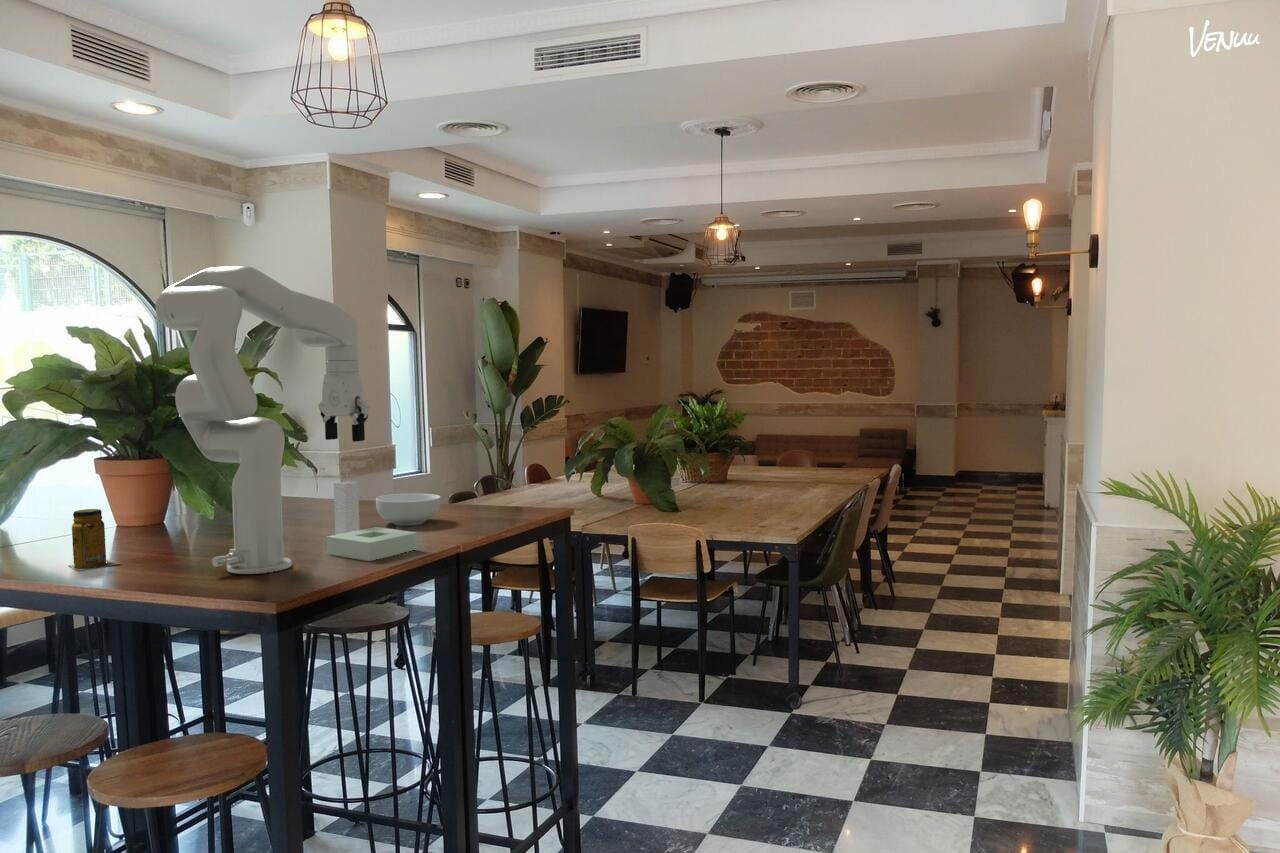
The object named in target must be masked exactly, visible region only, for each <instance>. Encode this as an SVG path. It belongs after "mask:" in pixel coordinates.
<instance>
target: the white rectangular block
mask: <svg viewBox="0 0 1280 853" xmlns="http://www.w3.org/2000/svg"><path fill="white" fill-rule="evenodd" d="M359 495H360V494H359V482H358V481H357V482H356V481H347V480H346V481H340V482H333V506H334V507H333V508H334V535H337V534H342V533H347V532H352V531H357V530H361V528H360V499H359Z"/></svg>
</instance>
